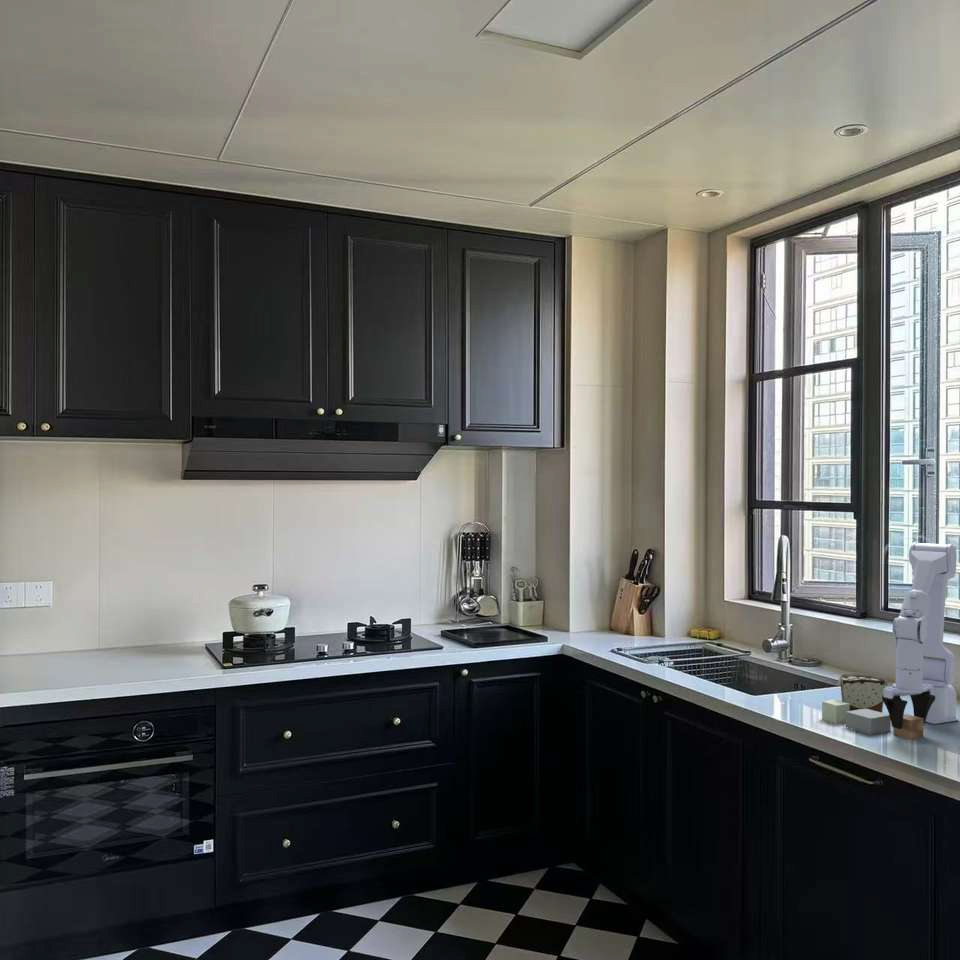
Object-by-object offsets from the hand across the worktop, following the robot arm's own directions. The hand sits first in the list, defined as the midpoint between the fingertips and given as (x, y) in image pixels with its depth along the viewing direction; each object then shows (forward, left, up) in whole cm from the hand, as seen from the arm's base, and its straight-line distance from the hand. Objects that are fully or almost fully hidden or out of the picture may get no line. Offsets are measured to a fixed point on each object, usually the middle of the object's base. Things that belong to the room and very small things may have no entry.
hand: (908, 726), depth 213 cm
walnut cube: (0, 0, -2) cm, 2 cm away
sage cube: (+5, -17, -2) cm, 18 cm away
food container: (-5, -19, -3) cm, 20 cm away
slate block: (+4, -8, -3) cm, 9 cm away
